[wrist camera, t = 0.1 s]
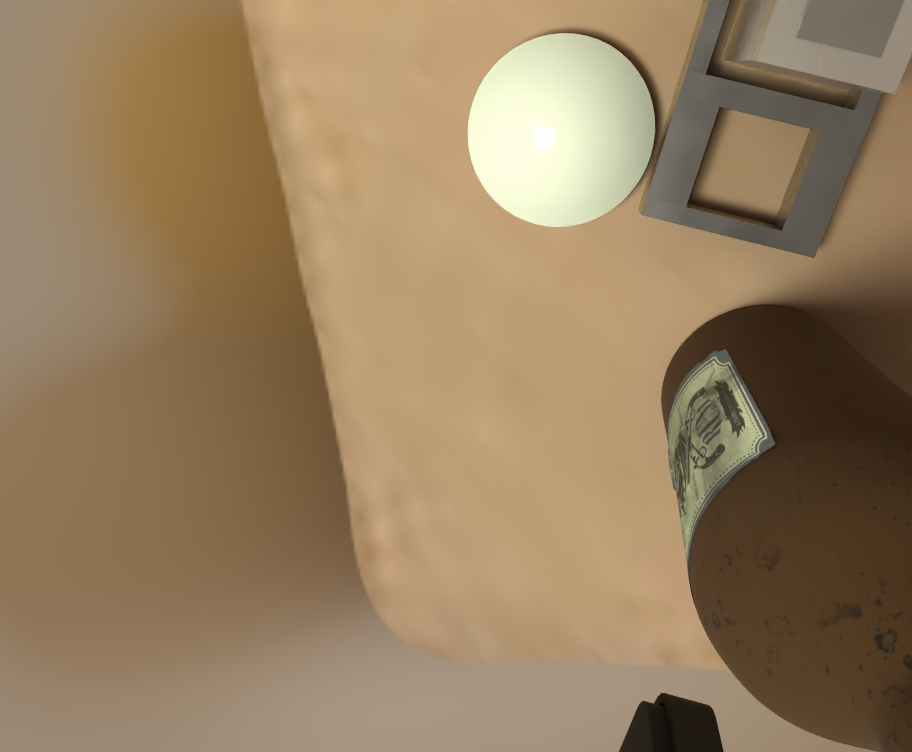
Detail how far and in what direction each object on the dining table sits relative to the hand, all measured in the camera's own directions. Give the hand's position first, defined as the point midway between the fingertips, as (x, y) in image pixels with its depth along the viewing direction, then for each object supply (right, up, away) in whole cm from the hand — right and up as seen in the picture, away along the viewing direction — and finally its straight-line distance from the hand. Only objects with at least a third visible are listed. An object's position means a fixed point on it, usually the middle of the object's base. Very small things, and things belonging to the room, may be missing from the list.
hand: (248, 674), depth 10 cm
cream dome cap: (+7, +15, +27) cm, 32 cm away
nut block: (+17, +19, +24) cm, 35 cm away
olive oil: (+18, +3, +30) cm, 35 cm away
